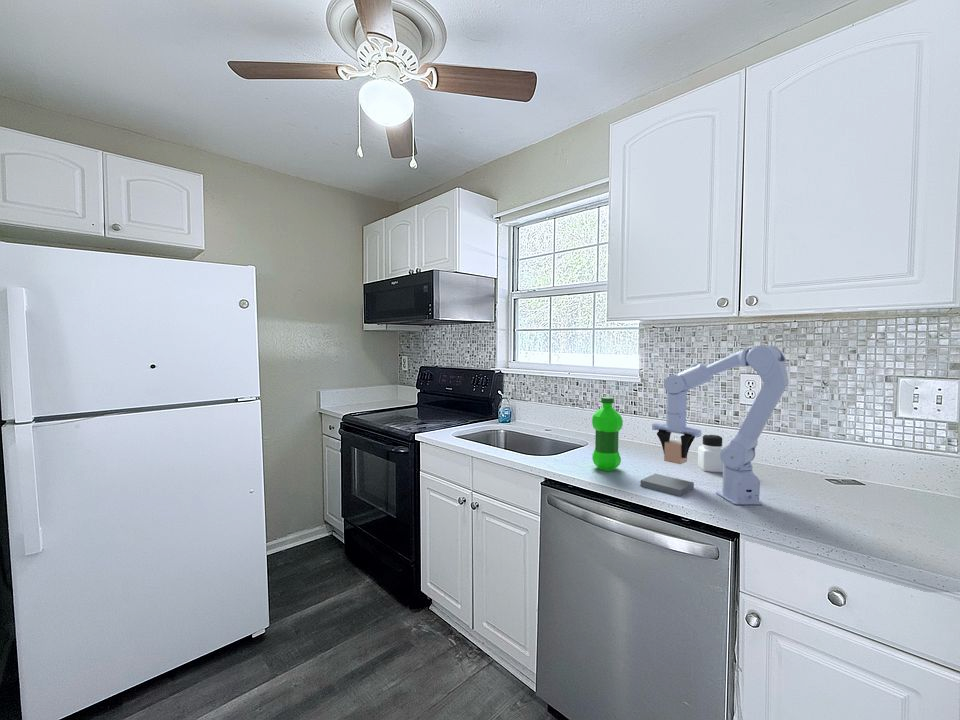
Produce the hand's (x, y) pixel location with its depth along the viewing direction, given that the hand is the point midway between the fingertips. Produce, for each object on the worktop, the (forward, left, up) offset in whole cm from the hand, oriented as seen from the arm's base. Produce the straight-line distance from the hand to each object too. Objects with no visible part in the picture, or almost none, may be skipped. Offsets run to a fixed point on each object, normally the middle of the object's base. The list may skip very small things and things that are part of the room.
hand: (675, 455), depth 136 cm
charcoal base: (-4, +4, -9) cm, 10 cm away
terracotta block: (0, 0, -2) cm, 2 cm away
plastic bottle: (+15, +17, -9) cm, 24 cm away
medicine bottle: (+15, -20, -9) cm, 26 cm away
